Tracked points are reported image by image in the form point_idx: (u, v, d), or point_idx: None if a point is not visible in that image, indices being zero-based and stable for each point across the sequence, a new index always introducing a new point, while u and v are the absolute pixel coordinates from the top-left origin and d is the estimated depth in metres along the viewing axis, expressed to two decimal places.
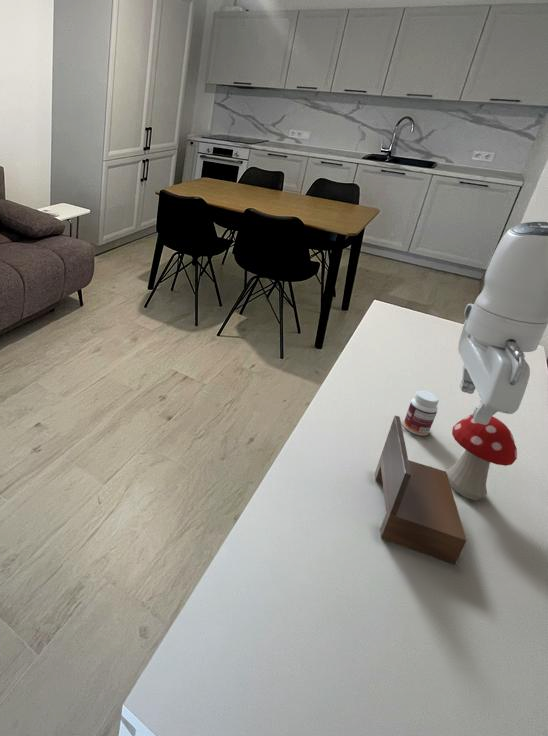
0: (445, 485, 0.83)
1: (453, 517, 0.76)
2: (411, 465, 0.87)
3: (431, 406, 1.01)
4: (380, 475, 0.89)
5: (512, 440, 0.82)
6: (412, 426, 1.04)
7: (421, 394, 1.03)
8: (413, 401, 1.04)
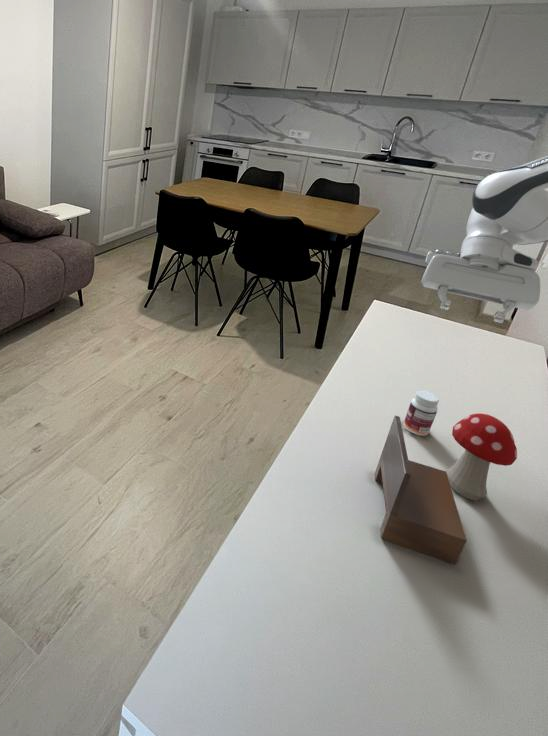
0: (445, 485, 0.83)
1: (453, 517, 0.76)
2: (411, 465, 0.87)
3: (431, 406, 1.01)
4: (380, 475, 0.89)
5: (512, 440, 0.82)
6: (412, 426, 1.04)
7: (421, 394, 1.03)
8: (413, 401, 1.04)
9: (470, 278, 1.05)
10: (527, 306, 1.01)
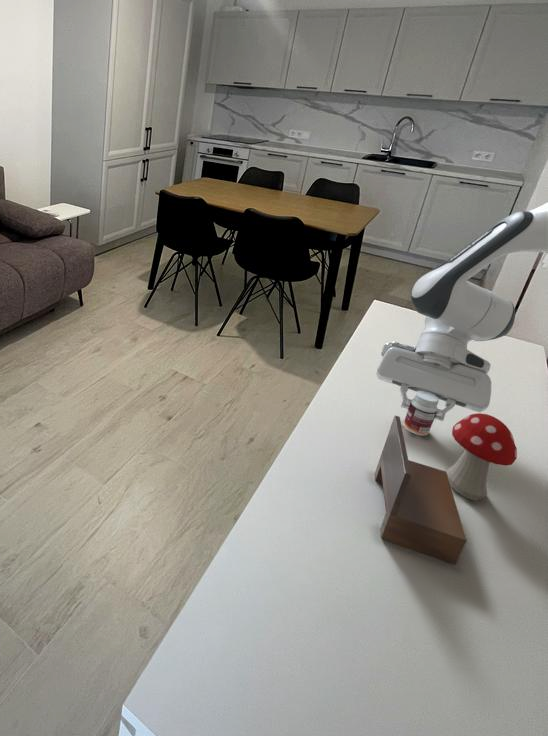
0: (445, 485, 0.83)
1: (453, 517, 0.76)
2: (411, 465, 0.87)
3: (431, 406, 1.01)
4: (380, 475, 0.89)
5: (512, 440, 0.82)
6: (412, 426, 1.04)
7: (421, 394, 1.03)
8: (413, 401, 1.04)
9: (422, 375, 1.05)
10: (478, 409, 1.00)
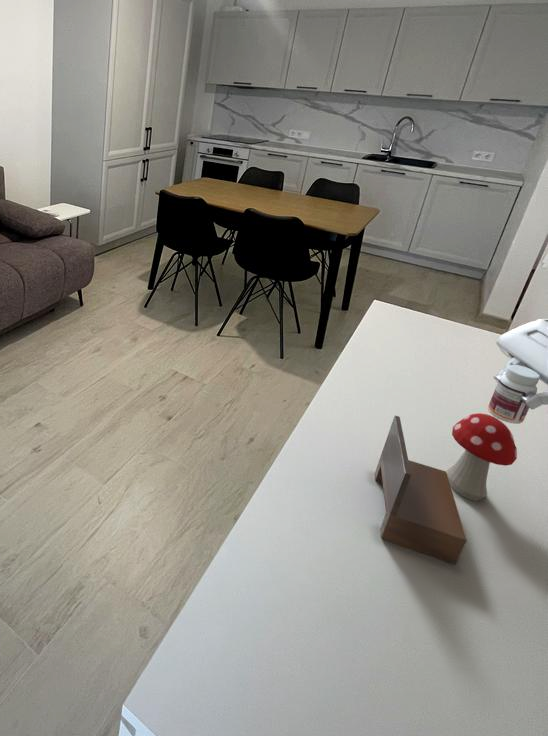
0: (445, 485, 0.83)
1: (453, 517, 0.76)
2: (411, 465, 0.87)
3: (516, 381, 0.77)
4: (380, 475, 0.89)
5: (512, 440, 0.82)
6: (490, 403, 0.81)
7: (516, 367, 0.79)
8: (505, 374, 0.80)
9: (543, 354, 0.78)
10: None
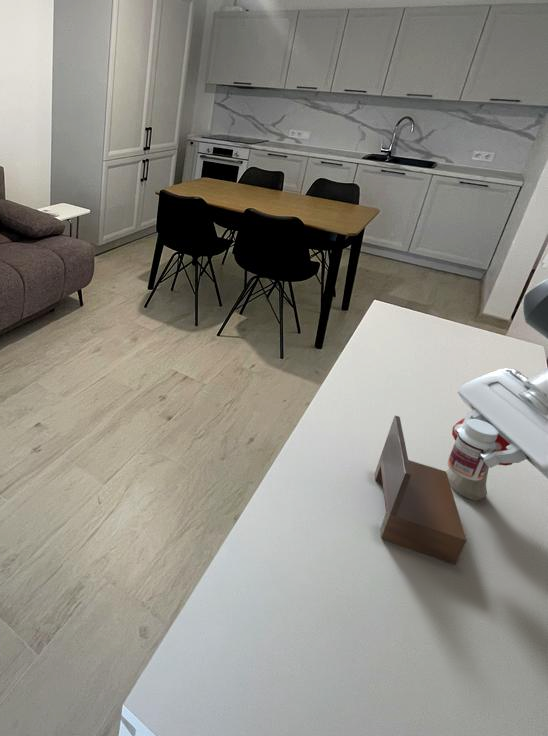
0: (445, 485, 0.83)
1: (453, 517, 0.76)
2: (411, 465, 0.87)
3: (474, 438, 0.75)
4: (380, 475, 0.89)
5: None
6: (450, 457, 0.79)
7: (475, 422, 0.76)
8: None
9: (502, 408, 0.76)
10: (544, 473, 0.67)
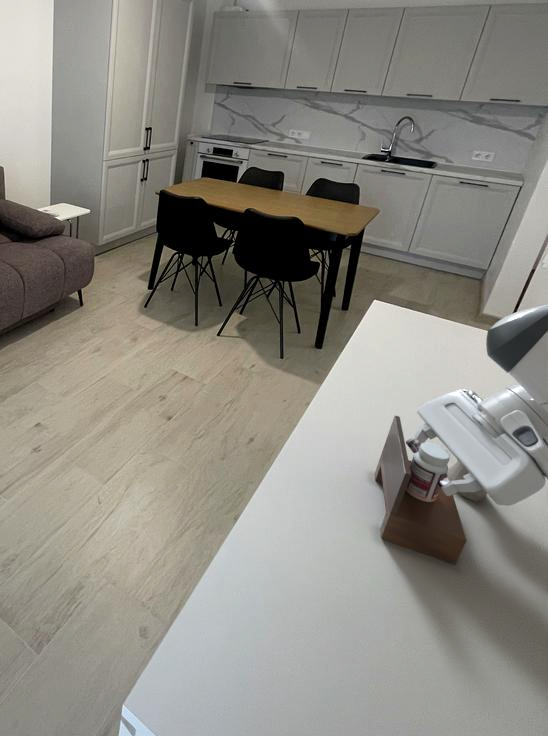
0: None
1: (453, 517, 0.76)
2: None
3: (427, 461, 0.77)
4: (380, 475, 0.89)
5: None
6: None
7: (429, 445, 0.79)
8: None
9: (455, 429, 0.79)
10: (489, 495, 0.70)
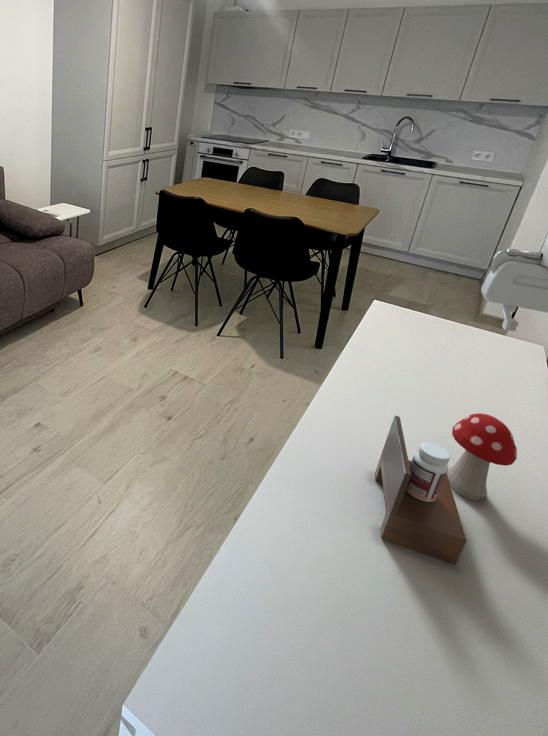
0: (445, 485, 0.83)
1: (453, 517, 0.76)
2: None
3: (427, 461, 0.77)
4: (380, 475, 0.89)
5: (512, 440, 0.82)
6: None
7: (429, 445, 0.79)
8: None
9: None
10: None
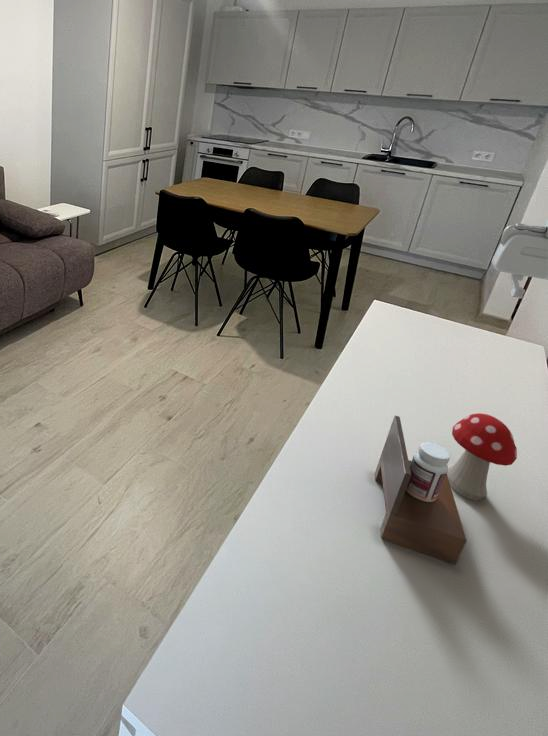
0: (445, 485, 0.83)
1: (453, 517, 0.76)
2: None
3: (427, 461, 0.77)
4: (380, 475, 0.89)
5: (512, 440, 0.82)
6: None
7: (429, 445, 0.79)
8: None
9: None
10: None
